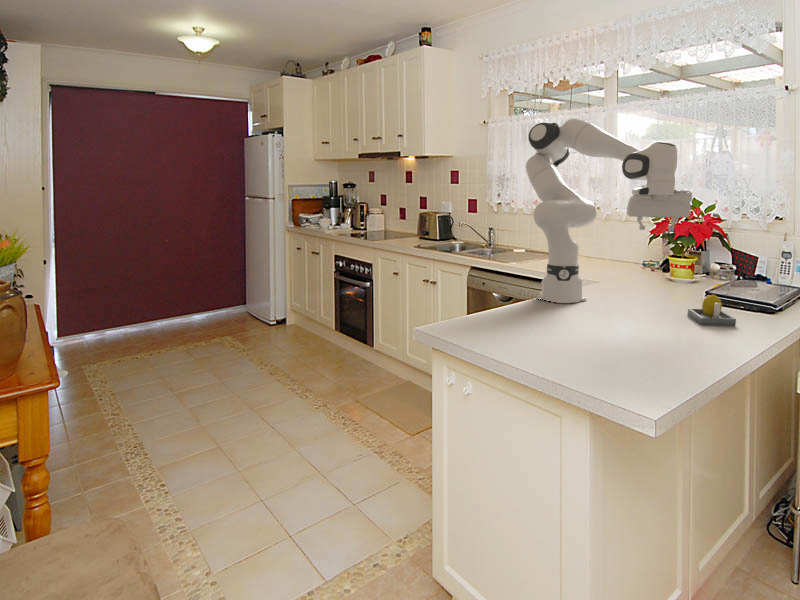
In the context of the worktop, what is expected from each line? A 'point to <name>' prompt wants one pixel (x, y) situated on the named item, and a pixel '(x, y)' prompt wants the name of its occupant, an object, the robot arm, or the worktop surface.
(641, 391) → the worktop surface
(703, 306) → the lemon
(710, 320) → the tray
